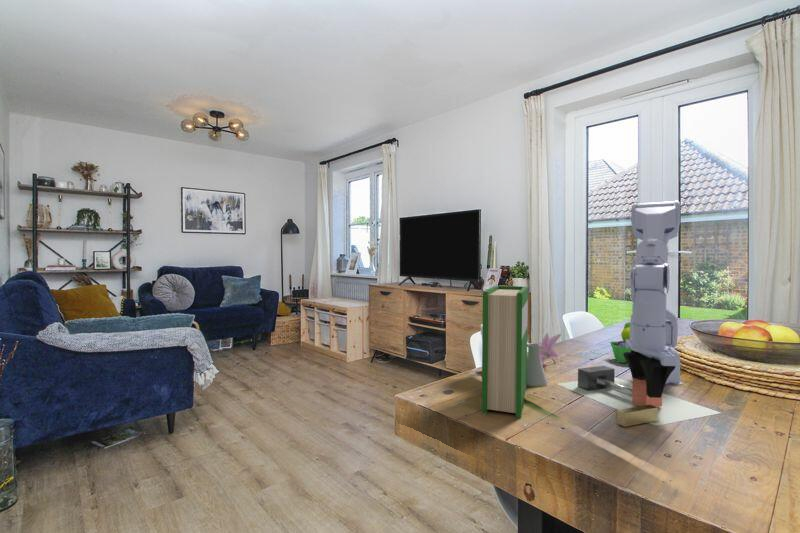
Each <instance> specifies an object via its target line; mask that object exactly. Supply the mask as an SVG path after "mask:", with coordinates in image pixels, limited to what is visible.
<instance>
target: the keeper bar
mask: <svg viewBox="0 0 800 533" xmlns="http://www.w3.org/2000/svg"><path fill="white" fill-rule="evenodd" d="M616 411H617V416H616V418H617V419H616V420H617V421H616V424H618V425H620V426H622V427H625V428H626V427H630V426H635V425H636V426H637V425H641V424H646V423H648V422H652V421H657V414H658V407H655V406H652V405H644V406H639V407H633V408H627V409H621V410H617V409H616Z"/></svg>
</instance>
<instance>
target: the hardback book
mask: <svg viewBox="0 0 800 533" xmlns="http://www.w3.org/2000/svg"><path fill="white" fill-rule="evenodd" d="M528 299H529V286H519V285H517V286H516V285H515V286H513V285H493V286H492V287H490V288H488V289H486V290H483V291H482V324H483V329H482V335H481V343H482V344H481V346H482V349H481V350H482V351H481V356H482V357H481V414H488V412H489V410H492V411H498V412H505V413H513V414H515V419H522V414H523V410H524V405H525V400H526V390H527V386H528V385H527V357H528V347H527V344H528V324H529V323H528V318H529V317H528V316H529V314H528V313H529V311H528V310H529V309H528V308H529V307H528V305H529V302H528V301H529V300H528Z"/></svg>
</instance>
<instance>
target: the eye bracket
mask: <svg viewBox="0 0 800 533" xmlns="http://www.w3.org/2000/svg"><path fill="white" fill-rule="evenodd" d="M615 370H616V369H615V368H612V367H610V366H606V365H599V366H598V365H597V366H592V367H591V366H589V367H581V368H578V369H577V381H578V387H579V388H582V389H584V390H587V391H591V390H598V389H605V388H606V387H603V386H601V385H598V384H597V377H599V378H602V379H605V380H608V381H611V382H614V378H615V377H616V376H615V374H616V373H615Z"/></svg>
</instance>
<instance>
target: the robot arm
mask: <svg viewBox="0 0 800 533" xmlns="http://www.w3.org/2000/svg"><path fill="white" fill-rule="evenodd" d="M630 223H631V224H630V225H631V227H632V233H633V234H634V238H636V239H638V240H640V242H639V243H638V244H637V246H636V248H635V258H634V265H633V266H634V267H633V266H632V267H631V268H630V270H629V271H630V272H629V288H630V292H631V293H630V297H631V301H632V305H631V306H632V312H631V315H630V320H629V321H630V339H626V348H627V349H631V351H630V352H625V353H624V357H625V359H626V360H627V362H628V363H627V365H628V367H629V369H630V374H631V378H632V380H633V377H641V376H645V378H646V388H647V394H648V396H649V397H652V398H661V395H662V393H664V389H665V386H666V385H668V384H669V383H673V384H675V385H678V386H679V385H680V386H684V382H682V381H681V356H680V353H679V352H678V351H677V350H676V349H675V348H676V347H677V346H678V335H679V334H678V333H679V332H678V326H679V325H678V324H679V323H678V316H677V315H676V314H675V312H673V311H671V310H670V309H668V308H667V294H668V293H669V291H670V267H669V261H668V256H669V247H668V243H669V241H670V240H672V239H674V238H677V237H678V234H679V232H680V225H681V202H680V201H679V200H677V199H676V200H674V201H673V200H672V201H660V202H659V201H658V202H657V201H656V202H644V203H643V202H642V203H638V202H634V203H633V204H632V205H631V213H630ZM665 289H666V290H665ZM665 291H666V292H665ZM668 295H669V294H668Z"/></svg>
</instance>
